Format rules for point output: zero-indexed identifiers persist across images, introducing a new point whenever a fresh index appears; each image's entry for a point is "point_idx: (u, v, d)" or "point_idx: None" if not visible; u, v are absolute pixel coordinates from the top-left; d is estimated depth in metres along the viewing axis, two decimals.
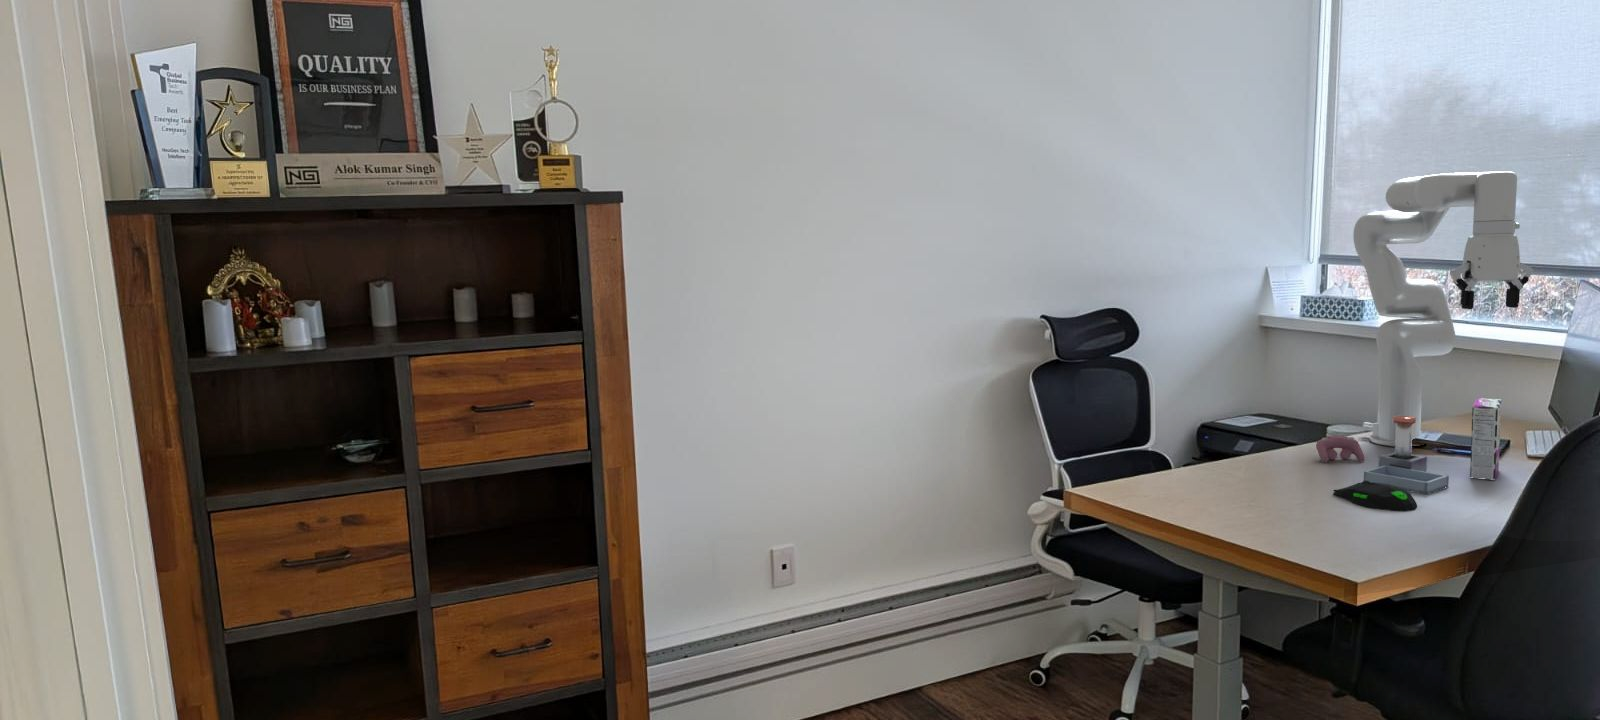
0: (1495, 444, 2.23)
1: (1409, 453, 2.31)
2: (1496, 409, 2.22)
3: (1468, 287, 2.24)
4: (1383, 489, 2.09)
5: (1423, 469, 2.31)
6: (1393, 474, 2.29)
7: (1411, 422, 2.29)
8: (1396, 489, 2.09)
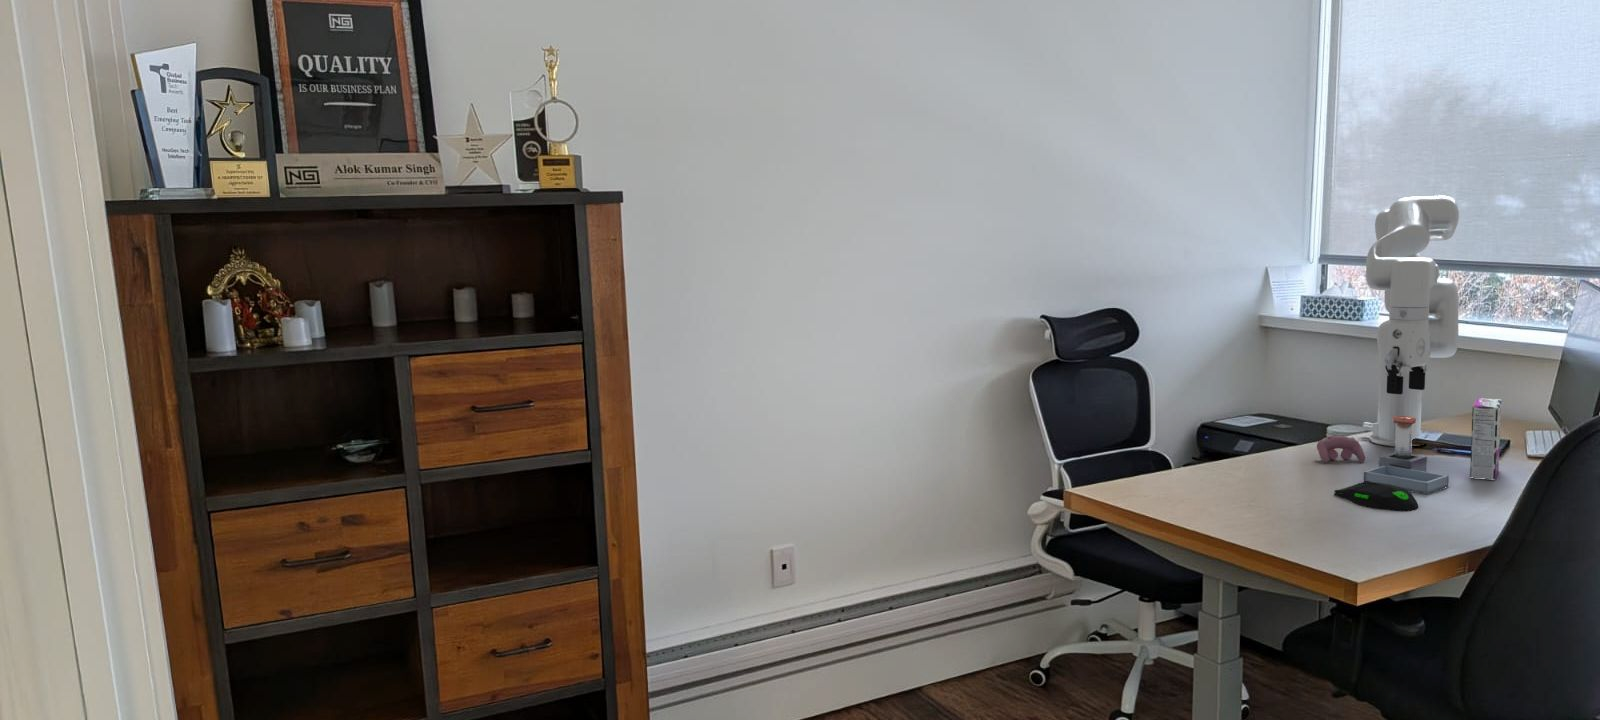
0: (1495, 444, 2.23)
1: (1409, 453, 2.31)
2: (1496, 409, 2.22)
3: None
4: (1384, 489, 2.09)
5: (1423, 469, 2.31)
6: (1393, 474, 2.29)
7: (1411, 422, 2.29)
8: (1397, 489, 2.09)
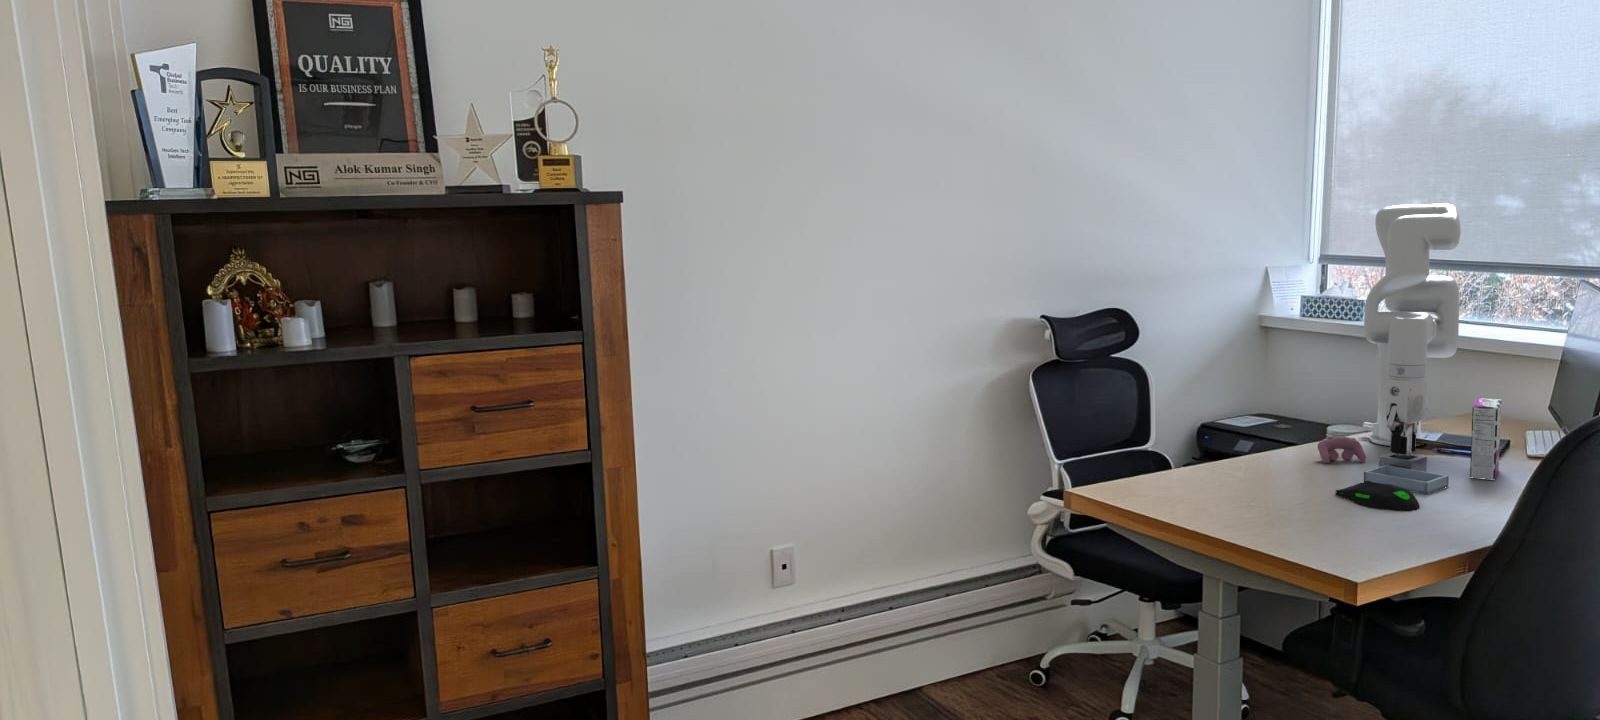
0: (1495, 444, 2.23)
1: (1409, 453, 2.31)
2: (1496, 409, 2.22)
3: None
4: (1385, 489, 2.09)
5: (1423, 469, 2.31)
6: (1393, 474, 2.29)
7: None
8: (1398, 489, 2.09)
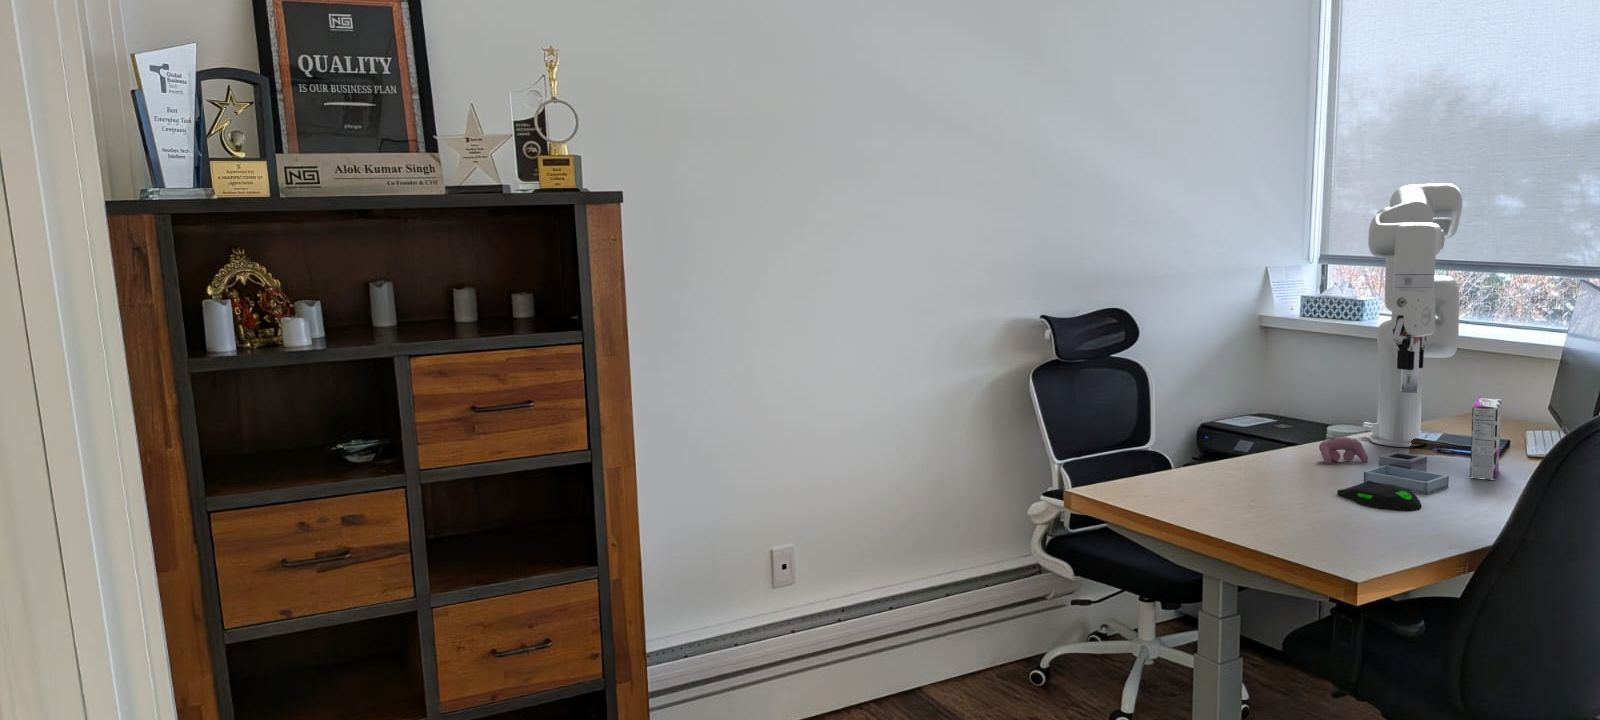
0: (1495, 444, 2.23)
1: (1416, 369, 2.19)
2: (1496, 409, 2.22)
3: None
4: (1387, 489, 2.09)
5: (1423, 469, 2.31)
6: (1393, 474, 2.29)
7: None
8: (1400, 489, 2.09)
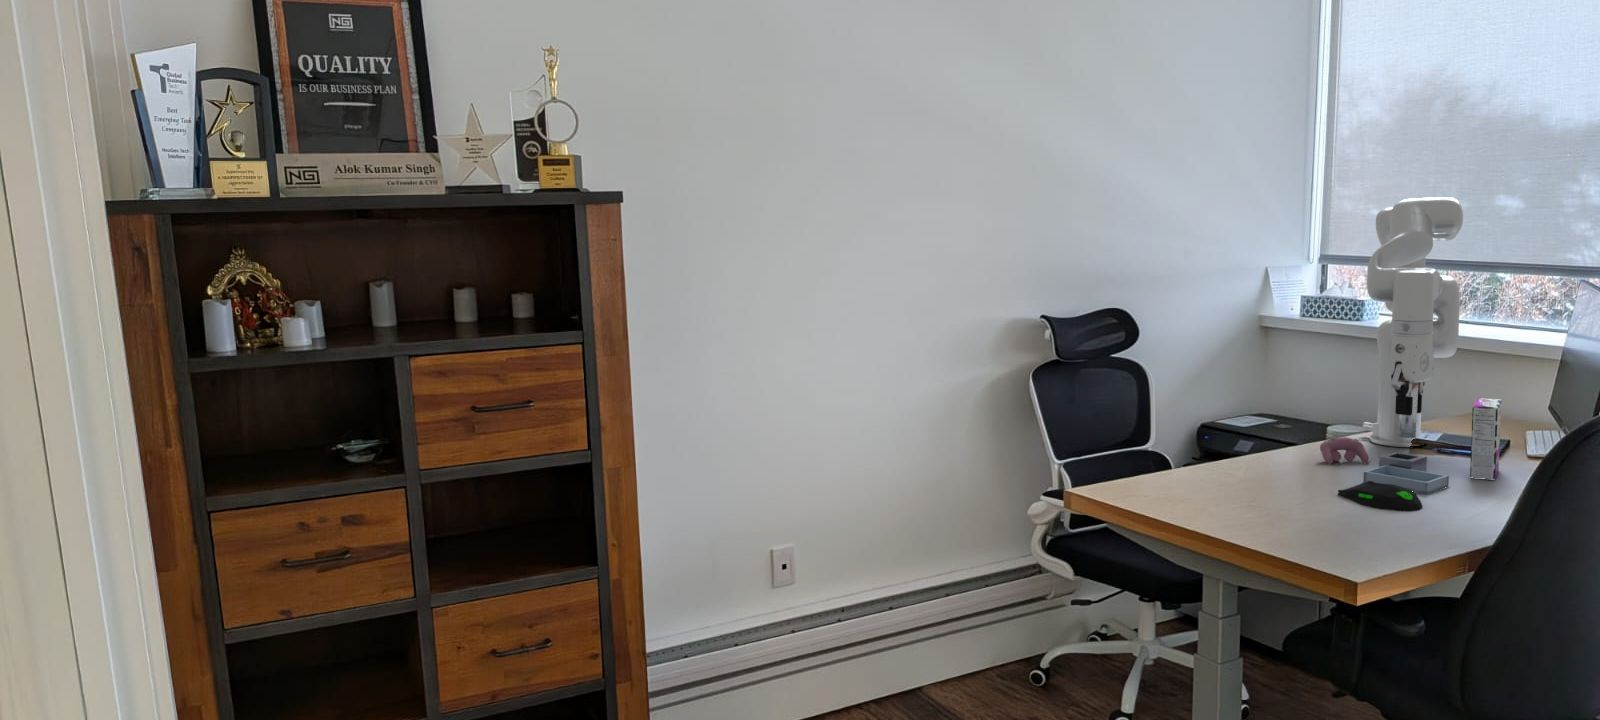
0: (1495, 444, 2.23)
1: (1415, 414, 2.20)
2: (1496, 409, 2.22)
3: None
4: (1388, 489, 2.09)
5: (1423, 469, 2.31)
6: (1393, 474, 2.29)
7: None
8: (1401, 489, 2.09)
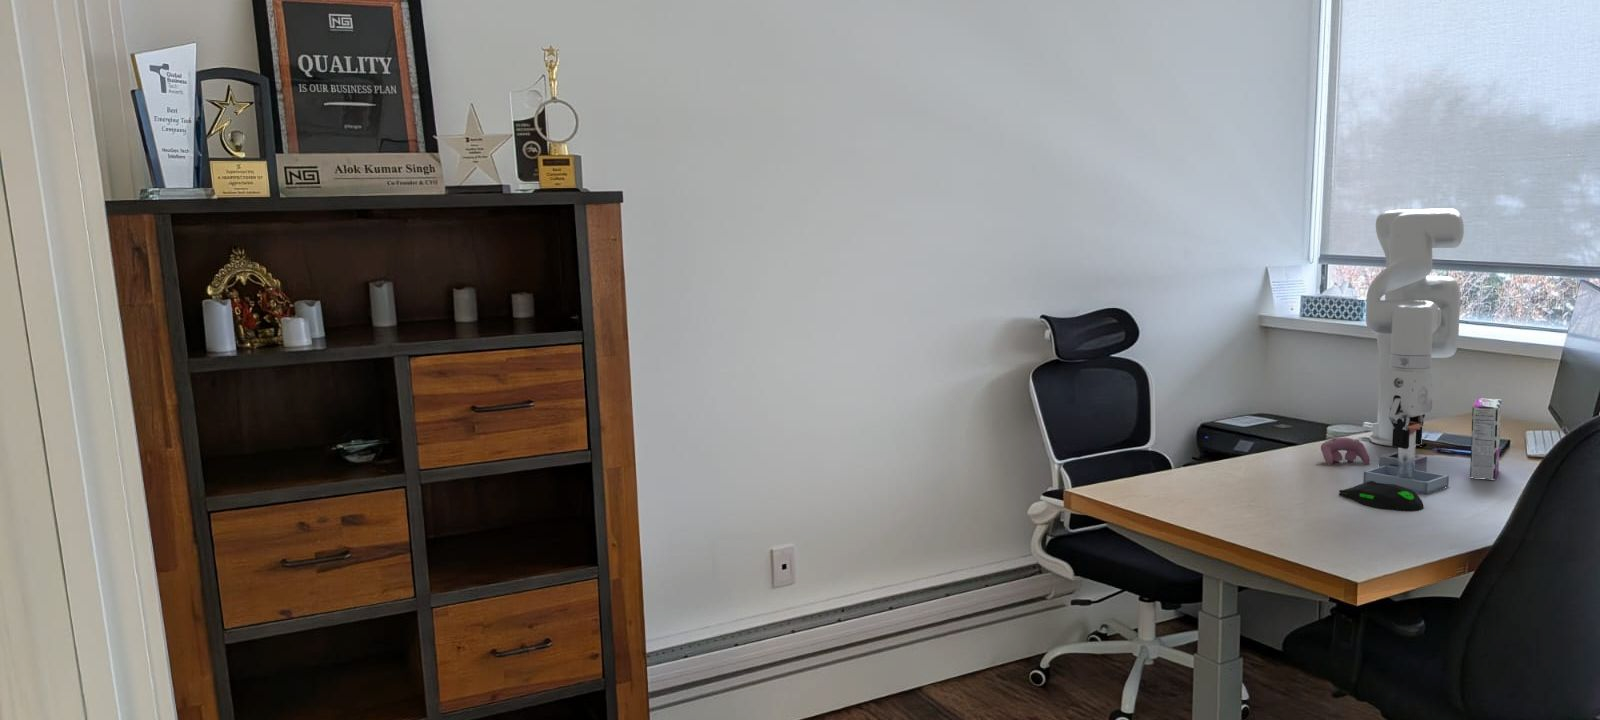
0: (1495, 444, 2.23)
1: (1413, 460, 2.22)
2: (1496, 409, 2.22)
3: None
4: (1389, 489, 2.09)
5: (1423, 469, 2.31)
6: (1393, 474, 2.29)
7: (1415, 428, 2.20)
8: (1402, 489, 2.09)
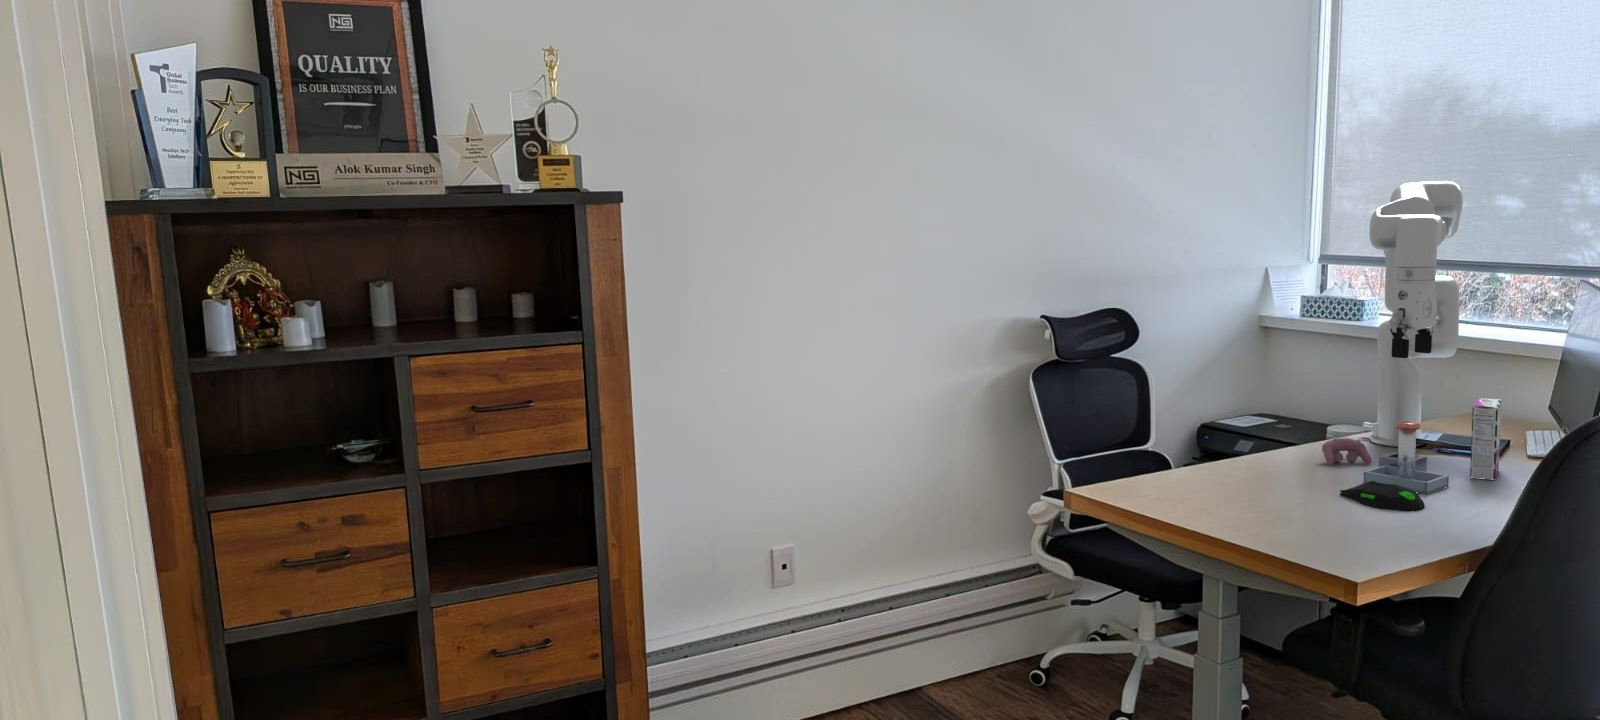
0: (1495, 444, 2.23)
1: (1413, 460, 2.22)
2: (1496, 409, 2.22)
3: None
4: (1391, 489, 2.09)
5: (1423, 469, 2.31)
6: (1393, 474, 2.29)
7: (1415, 428, 2.20)
8: (1403, 489, 2.09)
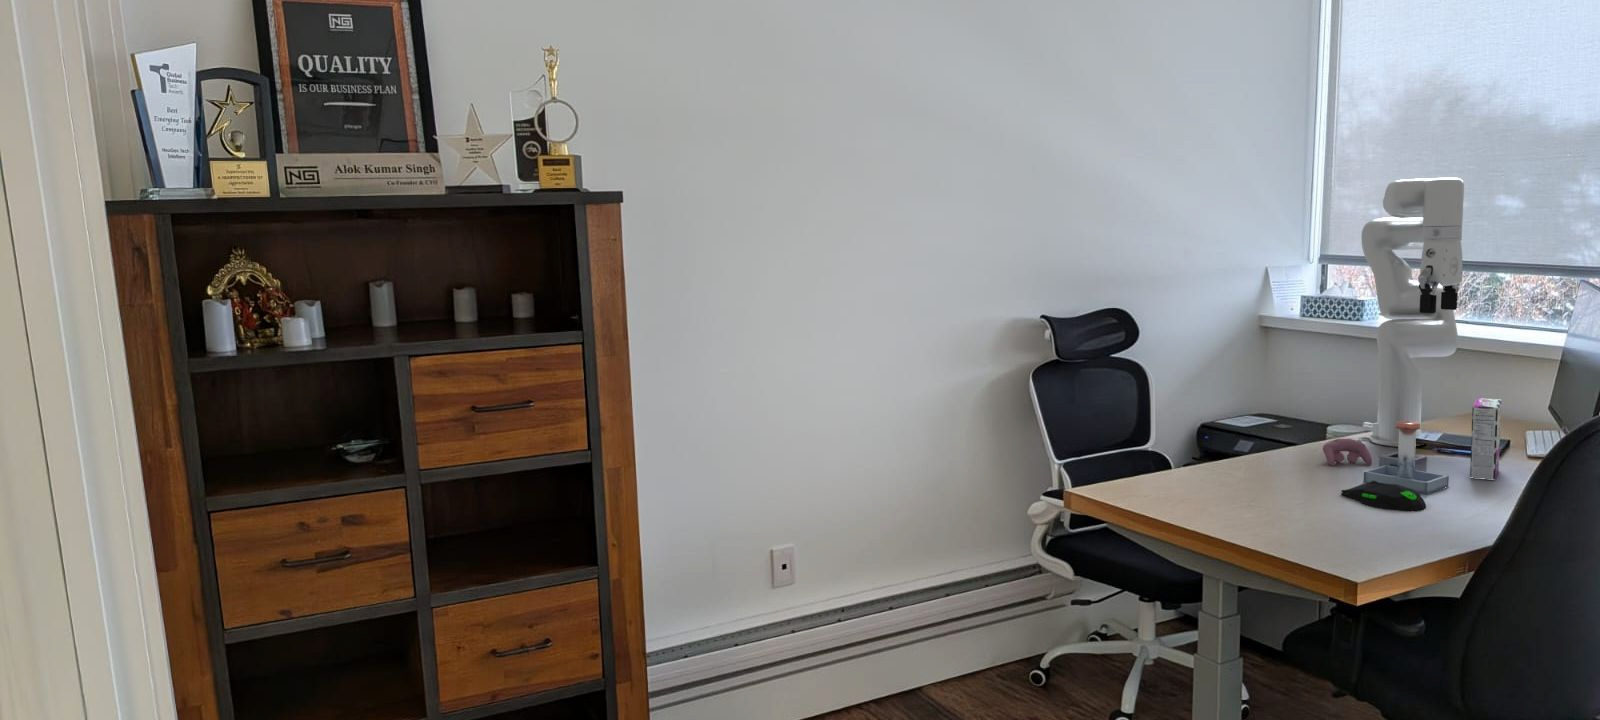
0: (1495, 444, 2.23)
1: (1413, 460, 2.22)
2: (1496, 409, 2.22)
3: None
4: (1392, 489, 2.09)
5: (1423, 469, 2.31)
6: (1393, 474, 2.29)
7: (1415, 428, 2.20)
8: (1405, 489, 2.09)
